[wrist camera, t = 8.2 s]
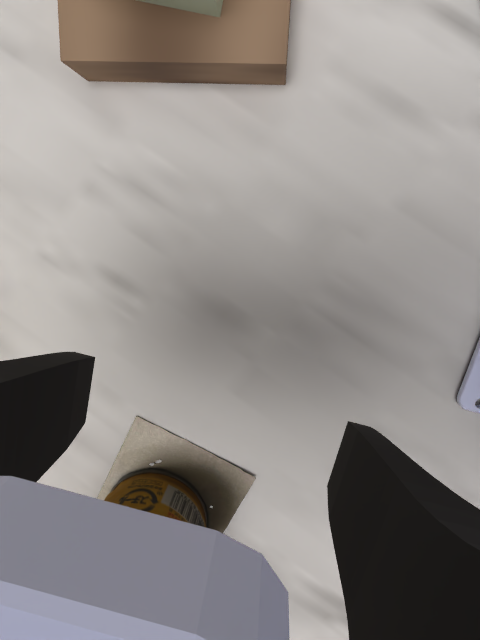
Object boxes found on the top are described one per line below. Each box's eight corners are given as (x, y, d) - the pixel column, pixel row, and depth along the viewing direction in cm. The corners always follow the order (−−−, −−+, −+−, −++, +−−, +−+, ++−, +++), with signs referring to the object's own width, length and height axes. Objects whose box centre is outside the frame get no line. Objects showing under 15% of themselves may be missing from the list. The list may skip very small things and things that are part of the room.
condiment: (82, 529, 25) (-93, 800, 13) (137, 414, 23) (-12, 615, 11) (191, 583, 25) (115, 899, 13) (256, 474, 23) (232, 733, 11)
